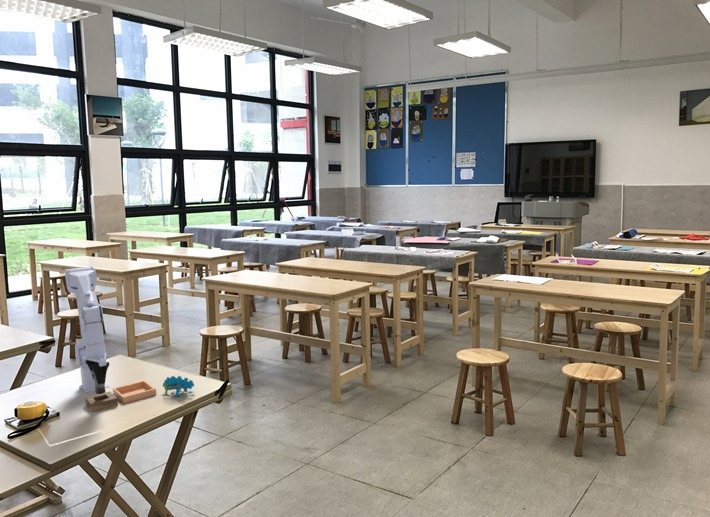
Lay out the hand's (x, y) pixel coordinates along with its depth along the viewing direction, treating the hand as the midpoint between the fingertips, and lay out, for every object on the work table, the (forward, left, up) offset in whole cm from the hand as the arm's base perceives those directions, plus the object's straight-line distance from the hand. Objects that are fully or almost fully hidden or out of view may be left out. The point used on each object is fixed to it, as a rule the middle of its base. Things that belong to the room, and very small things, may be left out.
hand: (99, 381), depth 201 cm
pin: (0, 0, -4) cm, 4 cm away
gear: (+7, +24, -9) cm, 26 cm away
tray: (-2, +11, -9) cm, 14 cm away
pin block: (0, 0, -9) cm, 9 cm away
